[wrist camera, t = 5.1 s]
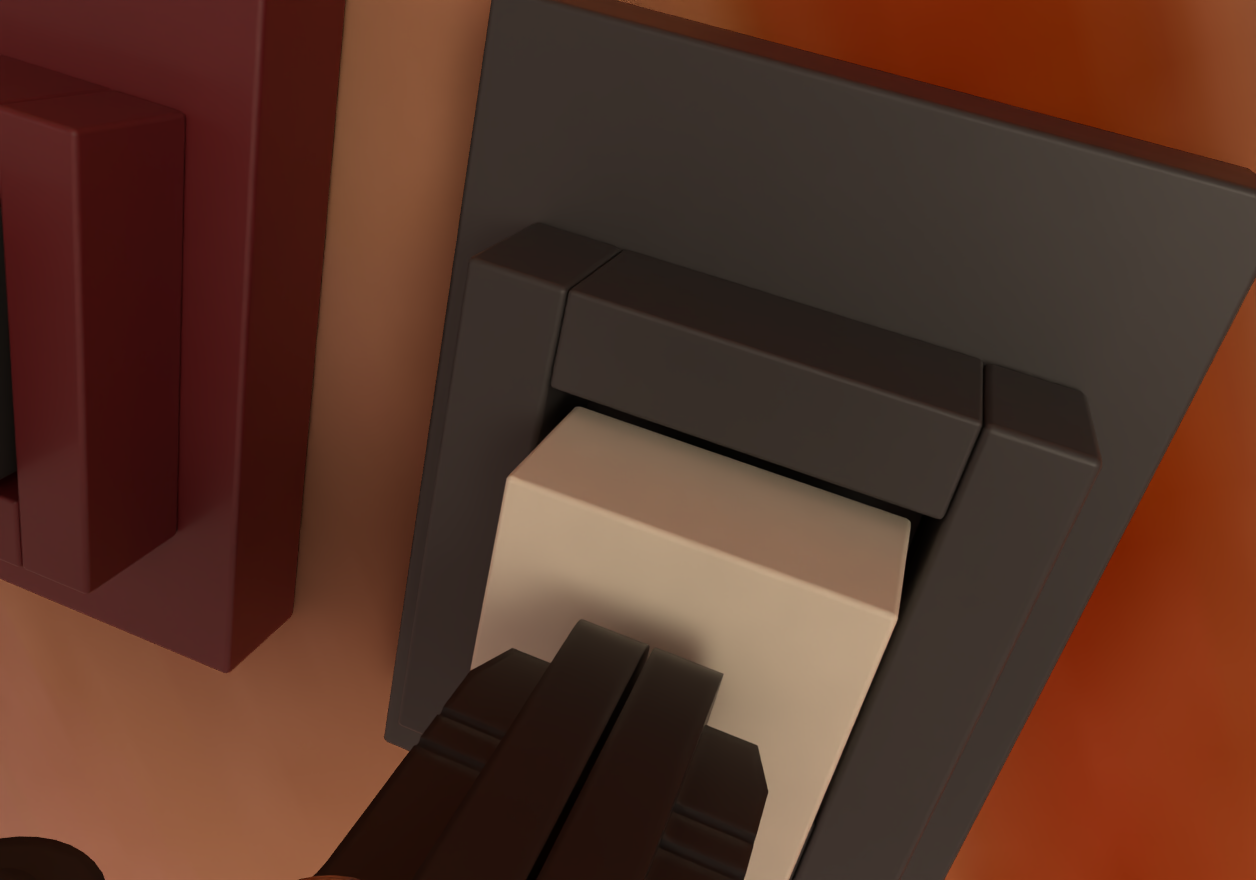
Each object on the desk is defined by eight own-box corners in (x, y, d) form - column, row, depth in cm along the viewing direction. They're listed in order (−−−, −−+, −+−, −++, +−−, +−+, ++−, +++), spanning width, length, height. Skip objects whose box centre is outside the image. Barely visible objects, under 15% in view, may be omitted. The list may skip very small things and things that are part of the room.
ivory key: (576, 402, 12) (504, 475, 10) (913, 517, 11) (899, 617, 10) (518, 667, 14) (449, 768, 12) (806, 781, 13) (778, 906, 11)
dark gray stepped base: (553, -18, 14) (407, -17, 10) (1253, 170, 12) (1360, 242, 9) (436, 672, 19) (314, 826, 16) (912, 865, 18) (893, 1081, 14)
